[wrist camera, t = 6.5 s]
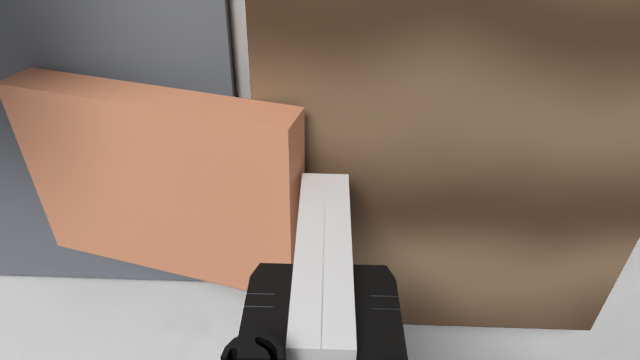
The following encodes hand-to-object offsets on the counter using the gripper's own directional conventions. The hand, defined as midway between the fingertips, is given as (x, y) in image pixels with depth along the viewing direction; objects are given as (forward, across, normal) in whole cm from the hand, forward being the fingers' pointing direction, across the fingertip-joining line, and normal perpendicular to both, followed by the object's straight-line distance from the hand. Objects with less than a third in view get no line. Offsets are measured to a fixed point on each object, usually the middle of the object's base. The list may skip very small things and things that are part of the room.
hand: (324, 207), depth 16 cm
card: (+2, -6, 0) cm, 6 cm away
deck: (+3, +5, 0) cm, 6 cm away
